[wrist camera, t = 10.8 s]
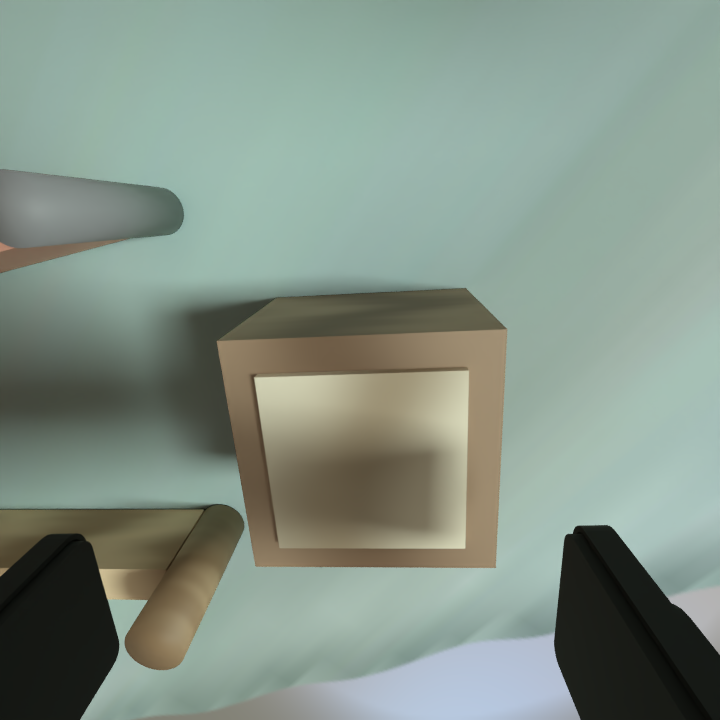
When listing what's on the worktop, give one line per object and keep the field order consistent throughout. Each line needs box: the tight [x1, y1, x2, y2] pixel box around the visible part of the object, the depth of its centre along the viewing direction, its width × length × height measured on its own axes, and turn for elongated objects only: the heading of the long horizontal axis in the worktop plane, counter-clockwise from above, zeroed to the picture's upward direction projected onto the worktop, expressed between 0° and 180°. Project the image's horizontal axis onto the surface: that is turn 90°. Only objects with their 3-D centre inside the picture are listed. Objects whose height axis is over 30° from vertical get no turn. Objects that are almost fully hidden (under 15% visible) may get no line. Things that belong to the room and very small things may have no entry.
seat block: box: [217, 288, 507, 568], centre depth 14 cm, size 7×7×6 cm
